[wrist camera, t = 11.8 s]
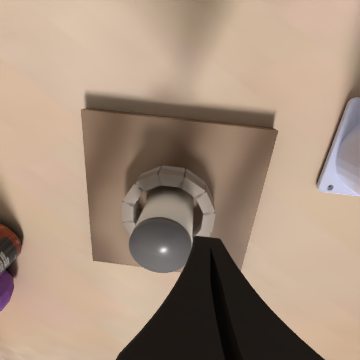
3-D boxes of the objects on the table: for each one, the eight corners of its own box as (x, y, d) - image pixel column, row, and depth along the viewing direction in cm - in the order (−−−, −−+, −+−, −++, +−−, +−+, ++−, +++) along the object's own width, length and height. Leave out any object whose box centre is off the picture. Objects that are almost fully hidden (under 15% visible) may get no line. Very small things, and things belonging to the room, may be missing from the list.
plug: (195, 186, 20) (194, 225, 14) (191, 227, 21) (188, 275, 16) (147, 182, 20) (127, 218, 14) (147, 223, 22) (129, 269, 16)
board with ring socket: (273, 128, 18) (287, 135, 15) (236, 271, 25) (241, 296, 22) (87, 108, 19) (67, 112, 16) (97, 253, 25) (84, 274, 22)
